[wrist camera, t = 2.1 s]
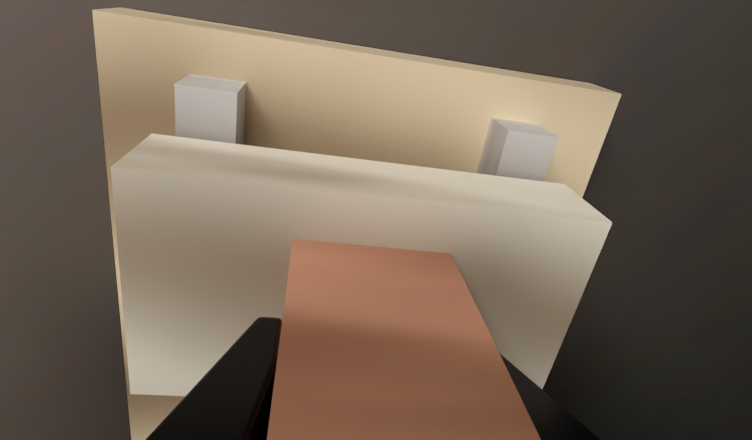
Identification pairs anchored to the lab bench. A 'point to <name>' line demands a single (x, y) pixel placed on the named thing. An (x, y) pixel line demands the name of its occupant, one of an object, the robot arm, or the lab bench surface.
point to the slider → (350, 284)
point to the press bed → (332, 111)
